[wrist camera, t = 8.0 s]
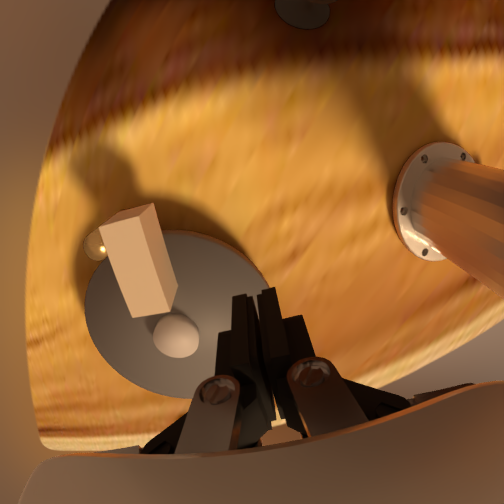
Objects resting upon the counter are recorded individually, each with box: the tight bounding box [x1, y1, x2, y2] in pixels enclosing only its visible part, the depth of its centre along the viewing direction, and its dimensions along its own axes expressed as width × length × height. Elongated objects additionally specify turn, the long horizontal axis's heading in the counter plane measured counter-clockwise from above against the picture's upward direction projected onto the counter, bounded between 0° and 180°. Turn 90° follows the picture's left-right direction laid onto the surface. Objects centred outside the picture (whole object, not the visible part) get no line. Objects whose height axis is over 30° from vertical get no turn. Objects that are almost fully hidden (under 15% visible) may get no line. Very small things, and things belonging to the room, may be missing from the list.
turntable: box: [85, 203, 269, 399], centre depth 24 cm, size 20×18×6 cm
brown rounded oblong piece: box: [83, 209, 127, 261], centre depth 25 cm, size 8×15×7 cm, turn 10°
